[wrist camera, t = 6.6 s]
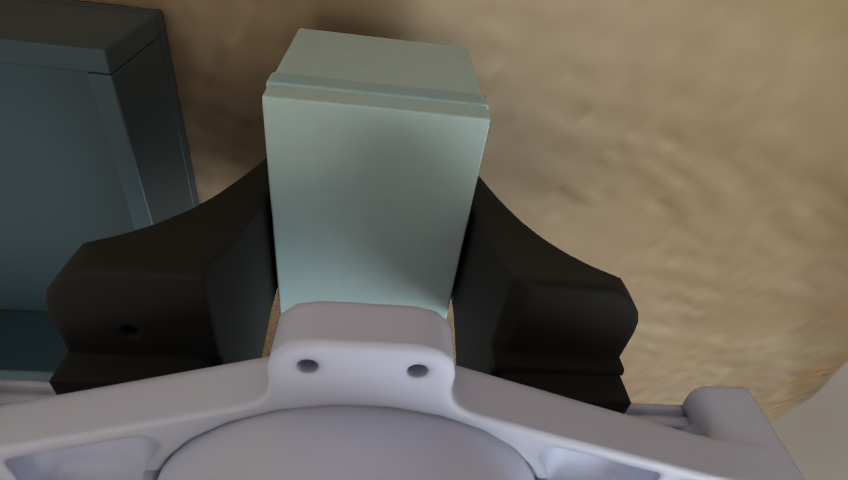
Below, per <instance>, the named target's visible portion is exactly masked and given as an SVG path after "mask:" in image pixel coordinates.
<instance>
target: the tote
mask: <svg viewBox="0 0 848 480" xmlns="http://www.w3.org/2000/svg"><path fill="white" fill-rule="evenodd" d="M198 205H199V201H198V196H197V191H196V186H195V180H194V175H193V170H192V165H191V160H190V155H189V150H188V145H187V140H186V134H185V129H184V124H183V119H182V114H181V109H180V104H179V99H178V94H177V88H176V83H175V78H174V73H173V68H172V63H171V58H170V53H169V48H168V42H167V37H166V32H165V27H164V22H163V17H162V12H161V11H159V10H152V9H143V8H134V7H126V6H117V5H109V4H100V3H91V2H83V1H74V0H0V380H27V381H49V380H50V379H51V377H52V376H53V374H54V373H55V371H56V370H57V368H58V366H59V365H60V363H61V362H62V360H63V359H64V357H65V356H66V354H67V353H68V349H67V347H66V345H65V343H64V341H63V339H62V337H61V335H60V333H59V331H58V329H57V327H56V325H55V323H54V321H53V320H52V318H51V316H50V314H49V311H48V308H47V305H46V302H45V298H46V290H47V288H48V287H49V286H50V284H51V283H52V281H53V280H54V279H55V277H56V276H57V275H58V273H59V272H60V271H61V270H62V268H63V267H64V266H65V264H66V263H67V262H68V261H69V259H70V258H71V257H72V255H73V254H74V253H75V252H76V251H77V250H78V249H79V247H80V246H81V245H82V244H83V243H85V242H91V241H95V240H99V239H104V238H108V237H112V236H117V235H121V234H125V233H128V232H132V231H135V230H138V229H141V228H145V227H148V226H151V225H153V224H156V223H159V222H162V221H164V220H167V219H169V218H171V217H174V216H176V215H179V214H181V213H183V212H186V211H188V210H190V209H192V208H194V207H196V206H198Z"/></svg>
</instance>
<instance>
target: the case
mask: <svg viewBox="0 0 848 480" xmlns="http://www.w3.org/2000/svg"><path fill="white" fill-rule="evenodd" d="M262 105H263V117H264V128H265V140H266V152H267V163H268V175H269V187H270V199H271V210H272V222H273V234H274V246H275V257H276V269H277V281H278V293H279V304H280V316H281V314H282V313H283V312H285V311H286V310H288V309H289V308H291V307H292V306H294V305H296V304H298V303H306V302H314V301H334V302H351V303H369V304H386V305H404V306H416V307H420V308H424V309H428V310H432V311H436V312H437V313H438V314H440V315H441V316H442V317H443V318H444V319H445V320H446V317H447V312H448V308H449V303H450V299H451V294H452V290H453V285H454V281H455V276H456V272H457V268H458V263H459V259H460V254H461V250H462V245H463V241H464V236H465V232H466V227H467V223H468V218H469V214H470V209H471V205H472V201H473V196H474V192H475V187H476V183H477V178H478V174H479V169H480V165H481V160H482V156H483V151H484V147H485V142H486V138H487V134H488V129H489V125H490V117H489V114H488V108H489V105H488V102H487V99H486V96H485V95H483V94H482V93H481V90H480V87H479V84H478V81H477V77H476V74H475V71H474V68H473V65H472V62H471V59H470V56H469V53H468V50H467V48H466V47H458V46H449V45H441V44H432V43H423V42H415V41H406V40H398V39H389V38H380V37H372V36H363V35H355V34H346V33H337V32H329V31H320V30H312V29H303V28H300V29H299V30H298V32H297V33H296V35H295V37H294V39H293V41H292V43H291V44H290V46H289V48H288V50H287V52H286V54H285V55H284V57H283V59H282V61H281V63H280V65H279V66H278V68H277V70H276V72H273V73H271V75H270V76H269V78H268V80H267V82H266V90H265V92H264V94H263V96H262Z"/></svg>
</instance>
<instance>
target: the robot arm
mask: <svg viewBox="0 0 848 480" xmlns="http://www.w3.org/2000/svg"><path fill="white" fill-rule="evenodd" d="M277 288H278V281H277V269H276V257H275V246H274V234H273V222H272V210H271V199H270V187H269V175H268V163H267V158H265V159H264V160H263V161H262V162H261V163H259V164H258V165H257V166H256V167H255V168H253V169H252V170H251V171H250V172H248V173H247V174H246V175H245V176H243V177H242V178H241V179H239V180H238V181H237V182H235V183H234V184H232V185H231V186H229V187H228V188H226V189H225V190H224V191H222V192H221V193H219V194H217V195H216V196H214V197H213V198H211V199H209V200H207V201H205V202H204V203H202V204H200V205H198V206H196V207H194V208H192V209H190V210H188V211H186V212H183V213H181V214H179V215H176V216H174V217H171V218H169V219H167V220H164V221H162V222H159V223H156V224H153V225H151V226H148V227H145V228H141V229H138V230H135V231H132V232H128V233H125V234H121V235H117V236H112V237H108V238H104V239H99V240H95V241H91V242H85V243H83V244H82V245H81V246H80V247H79V249H78V250H77V251H76V252H75V253H74V254H73V255H72V257H71V258H70V259H69V261H68V262H67V263H66V264H65V266H64V267H63V268H62V270H61V271H60V272H59V273H58V275H57V276H56V277H55V279H54V280H53V281H52V283H51V284H50V286H49V287H48V288H47V290H46V298H45V302H46V305H47V308H48V311H49V314H50V316H51V318H52V320H53V321H54V323H55V325H56V327H57V329H58V331H59V333H60V335H61V337H62V339H63V341H64V343H65V345H66V347H67V349H68V353H67V354H66V356H65V357H64V359H63V360H62V362H61V363H60V365H59V366H58V368H57V370H56V371H55V373H54V374H53V376H52V377H51V379H50V380H49V381H26V380H0V480H806V479H805V477H804V476H803V474H802V472H801V471H800V470H799V468H798V466H797V465H796V463H795V462H794V460H793V458H792V457H791V455H790V454H789V452H788V451H787V449H786V447H785V446H784V445H783V443H782V441H781V440H780V438H779V437H778V435H777V433H776V432H775V430H774V429H773V427H772V426H771V424H770V422H769V421H768V419H767V418H766V416H765V415H764V413H763V412H762V410H761V408H760V407H759V405H758V404H757V402H756V401H755V399H754V397H753V396H752V394H751V393H750V391H749V390H748V389H747V388H743V387H722V386H703V387H699V388H697V389H694V390H693V391H692V392H691V393H690V394H689V395H688V396H687V398H686V399H685V401H684V403H683V405H664V404H638V403H631V402H630V399H629V397H628V394H627V392H626V389H625V387H624V385H623V382H622V380H621V377H620V375H622V374H623V373H624V367H623V365H622V363H621V360H620V358H619V357H620V355H621V353H622V352H623V350H624V348H625V347H626V345H627V343H628V341H629V340H630V338H631V336H632V335H633V333H634V331H635V329H636V326H637V323H638V311H637V309H636V307H635V304H634V302H633V300H632V298H631V296H630V294H629V292H628V290H627V288H626V287H625V285H624V283H623V282H622V280H621V278H619V277H616V276H614V275H611V274H609V273H606V272H604V271H602V270H599V269H597V268H594V267H592V266H590V265H588V264H586V263H584V262H582V261H580V260H578V259H576V258H574V257H572V256H570V255H568V254H567V253H565V252H563V251H561V250H560V249H558V248H557V247H555V246H553V245H552V244H550V243H549V242H547V241H546V240H544V239H543V238H541V237H540V236H539V235H537V234H536V233H535V232H534V231H532V230H531V229H530V228H528V227H527V226H526V225H525V224H524V223H522V222H521V221H520V220H519V219H518V218H517V217H516V216H515V215H514V214H513V213H512V212H510V211H509V210H508V209H507V208H506V207H505V206H504V204H503V203H502V202H501V201H500V200H499V199H498V198H497V197H496V196H495V195H494V194H493V192H492V191H491V190H490V189H489V188H488V187H487V185H486V184H485V183H484V182H483V181H482V179H481V178H480V177H479V176H478V178H477V183H476V187H475V192H474V196H473V201H472V205H471V209H470V214H469V218H468V223H467V227H466V232H465V236H464V241H463V245H462V250H461V254H460V259H459V263H458V268H457V272H456V276H455V281H454V285H453V290H452V294H451V299H452V305H453V313H454V327H455V345H456V365H454V357H453V347H452V338H451V331H450V325H449V322H448V321H446V320H445V319H444V318H443V317H442V316H441V315H440V314H438V313H437V312H436V311H432V310H428V309H424V308H420V307H416V306H404V305H386V304H369V303H351V302H334V301H314V302H306V303H298V304H296V305H294V306H292V307H291V308H289V309H288V310H286V311H285V312H283V313H282V314H281V316H280V319H279V322H278V325H277V328H276V332H275V336H274V340H273V344H272V348H271V352H270V356H268V357H262V353H263V348H264V343H265V338H266V332H267V328H268V323H269V318H270V314H271V309H272V304H273V301H274V297H275V294H276V291H277Z"/></svg>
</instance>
